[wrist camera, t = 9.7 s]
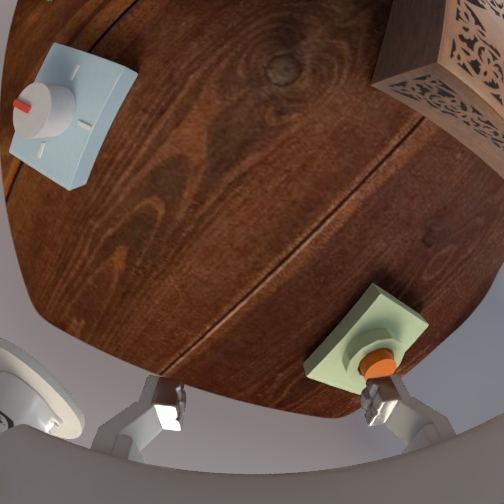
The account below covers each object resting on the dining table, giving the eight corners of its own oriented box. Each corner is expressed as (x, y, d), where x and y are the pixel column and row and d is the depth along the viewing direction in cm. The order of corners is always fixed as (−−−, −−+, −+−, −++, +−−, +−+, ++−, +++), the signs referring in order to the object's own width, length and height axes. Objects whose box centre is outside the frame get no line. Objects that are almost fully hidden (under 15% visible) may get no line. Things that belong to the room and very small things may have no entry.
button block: (356, 383, 32) (364, 405, 29) (302, 363, 30) (308, 388, 27) (420, 314, 29) (436, 334, 25) (372, 282, 27) (388, 302, 23)
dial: (84, 95, 17) (57, 90, 13) (62, 144, 18) (34, 147, 15) (51, 80, 16) (24, 75, 12) (31, 126, 17) (4, 128, 14)
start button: (374, 376, 27) (379, 387, 26) (352, 367, 26) (357, 379, 25) (396, 353, 26) (402, 364, 24) (376, 343, 25) (382, 354, 24)
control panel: (86, 184, 22) (67, 191, 20) (27, 149, 21) (7, 152, 18) (139, 73, 19) (124, 66, 16) (70, 48, 17) (53, 41, 14)
